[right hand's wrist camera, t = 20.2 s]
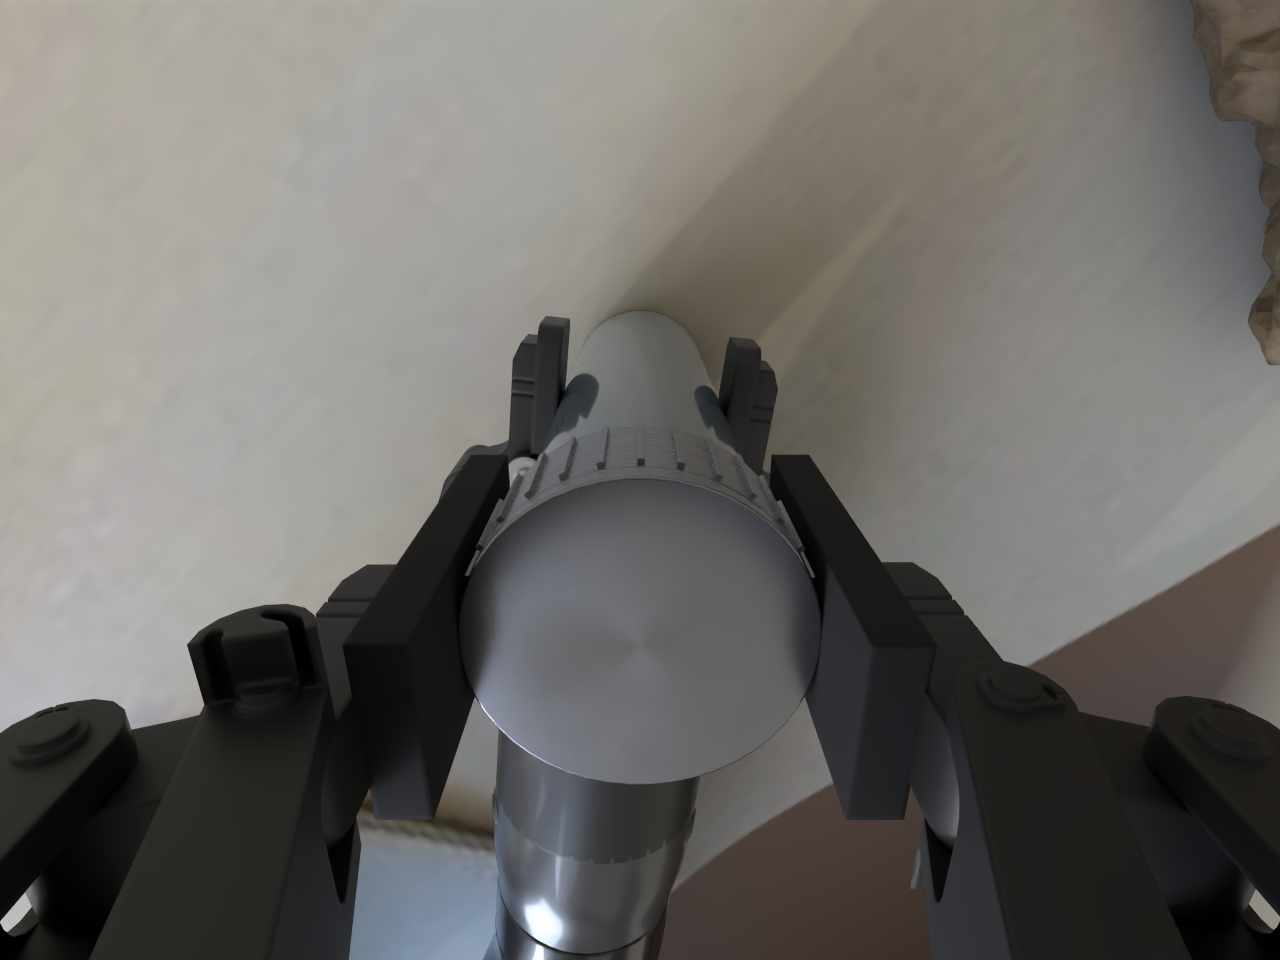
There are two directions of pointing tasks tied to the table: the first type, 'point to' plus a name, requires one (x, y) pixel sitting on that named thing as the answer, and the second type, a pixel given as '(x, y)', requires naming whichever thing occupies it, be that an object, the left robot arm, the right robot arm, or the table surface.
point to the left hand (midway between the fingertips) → (651, 334)
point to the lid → (639, 608)
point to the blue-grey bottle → (639, 383)
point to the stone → (1250, 119)
